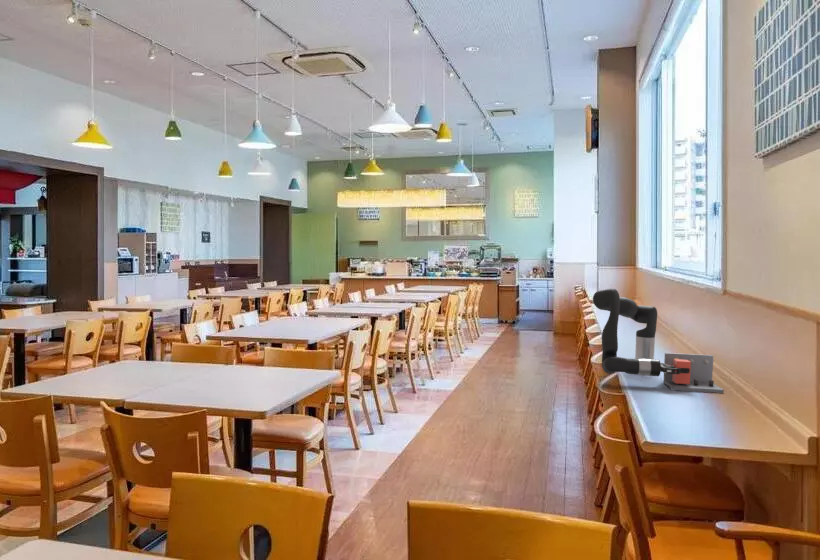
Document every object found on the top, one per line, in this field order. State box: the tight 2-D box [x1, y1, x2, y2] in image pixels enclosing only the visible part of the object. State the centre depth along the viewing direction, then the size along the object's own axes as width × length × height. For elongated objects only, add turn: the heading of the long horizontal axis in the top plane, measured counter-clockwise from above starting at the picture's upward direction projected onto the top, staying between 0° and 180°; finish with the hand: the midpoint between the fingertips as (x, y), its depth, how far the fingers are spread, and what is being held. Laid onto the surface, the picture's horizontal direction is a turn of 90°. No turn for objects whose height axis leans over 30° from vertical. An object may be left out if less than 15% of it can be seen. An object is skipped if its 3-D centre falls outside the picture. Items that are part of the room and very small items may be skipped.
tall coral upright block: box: [672, 359, 691, 384], centre depth 283 cm, size 6×6×10 cm
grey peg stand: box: [663, 352, 725, 394], centre depth 284 cm, size 17×21×14 cm
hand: (687, 369), depth 283 cm, fingers closed on tall coral upright block, 6 cm apart
